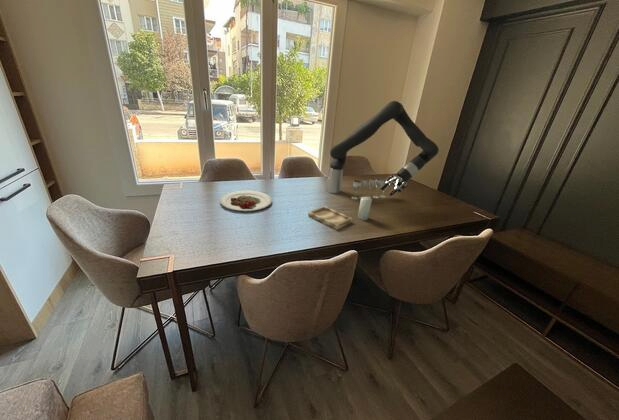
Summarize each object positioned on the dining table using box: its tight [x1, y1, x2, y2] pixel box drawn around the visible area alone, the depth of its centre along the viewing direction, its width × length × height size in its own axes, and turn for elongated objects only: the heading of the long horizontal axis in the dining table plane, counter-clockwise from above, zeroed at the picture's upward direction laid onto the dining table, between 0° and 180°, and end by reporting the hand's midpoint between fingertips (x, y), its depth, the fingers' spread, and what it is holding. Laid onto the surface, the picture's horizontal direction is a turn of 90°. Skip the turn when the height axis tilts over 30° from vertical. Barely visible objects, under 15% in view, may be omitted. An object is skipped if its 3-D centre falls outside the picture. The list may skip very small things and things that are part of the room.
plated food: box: [219, 190, 273, 212], centre depth 151 cm, size 30×30×3 cm
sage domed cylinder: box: [357, 196, 373, 221], centre depth 143 cm, size 6×6×12 cm
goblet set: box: [351, 177, 389, 200], centre depth 174 cm, size 28×6×13 cm, turn 108°
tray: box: [307, 205, 353, 231], centre depth 140 cm, size 20×14×2 cm
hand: (385, 191), depth 143 cm, fingers open, 8 cm apart
